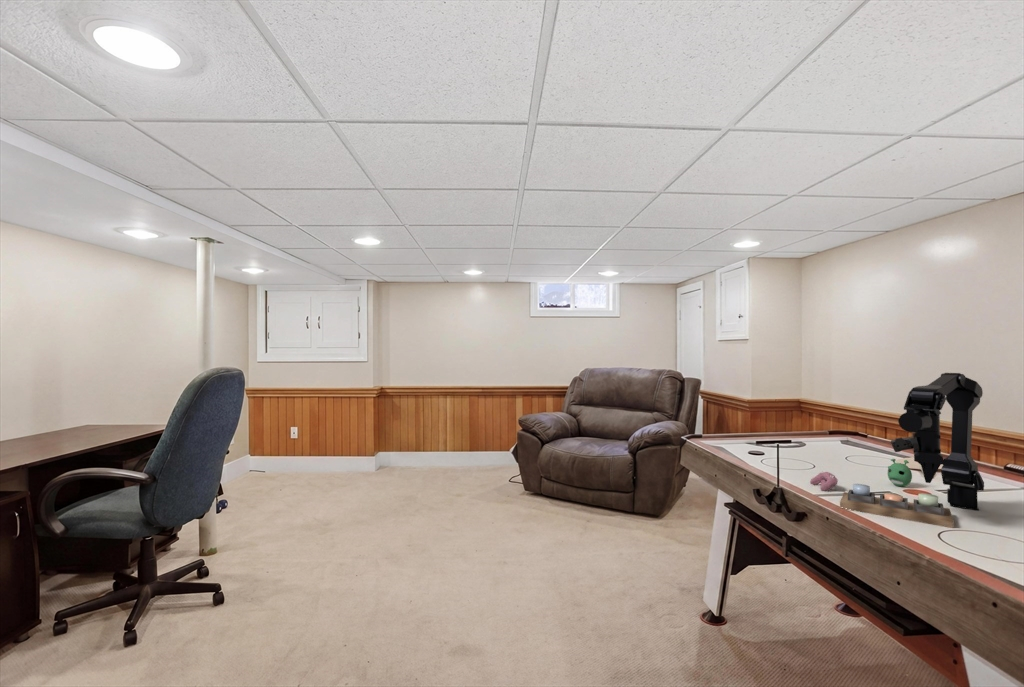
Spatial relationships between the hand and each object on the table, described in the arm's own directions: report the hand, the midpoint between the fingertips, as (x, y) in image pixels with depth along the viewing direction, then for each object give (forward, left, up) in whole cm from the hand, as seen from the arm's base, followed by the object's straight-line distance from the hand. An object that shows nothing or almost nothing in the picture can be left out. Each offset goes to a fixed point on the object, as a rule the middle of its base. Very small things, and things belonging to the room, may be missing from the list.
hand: (927, 482), depth 140 cm
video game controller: (+28, -17, -11) cm, 34 cm away
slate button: (+16, 0, -7) cm, 17 cm away
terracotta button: (+8, 0, -8) cm, 12 cm away
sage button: (0, 0, -7) cm, 7 cm away
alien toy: (+7, -39, -10) cm, 41 cm away
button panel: (+8, 0, -10) cm, 13 cm away
